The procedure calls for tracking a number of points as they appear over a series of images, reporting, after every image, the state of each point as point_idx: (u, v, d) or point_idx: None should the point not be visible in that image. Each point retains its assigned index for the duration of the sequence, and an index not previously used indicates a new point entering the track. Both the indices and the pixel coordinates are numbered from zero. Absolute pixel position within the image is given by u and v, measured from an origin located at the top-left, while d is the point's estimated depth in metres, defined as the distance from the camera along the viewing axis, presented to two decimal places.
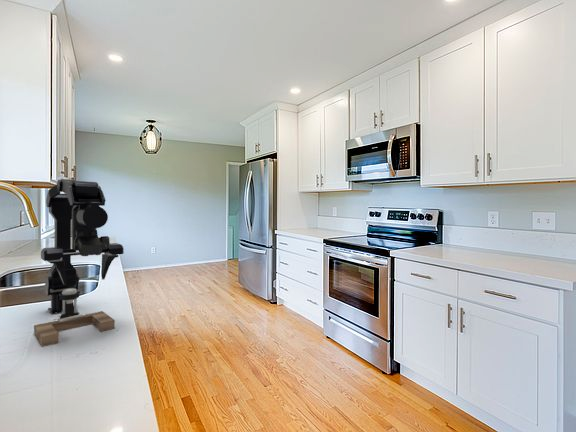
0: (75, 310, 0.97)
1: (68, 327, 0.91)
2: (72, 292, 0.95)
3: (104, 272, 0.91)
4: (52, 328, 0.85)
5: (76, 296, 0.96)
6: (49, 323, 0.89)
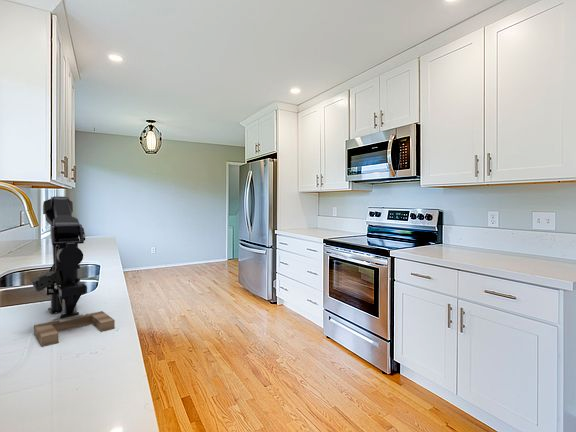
0: (75, 310, 0.97)
1: (68, 327, 0.91)
2: None
3: (65, 308, 0.94)
4: (52, 328, 0.85)
5: None
6: (49, 323, 0.89)
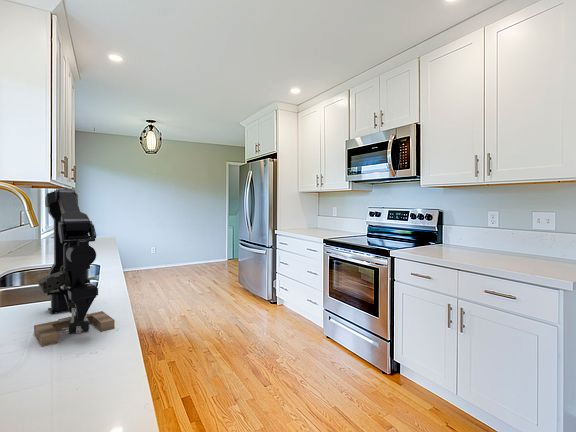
0: (85, 318, 0.89)
1: None
2: None
3: (77, 313, 0.85)
4: (52, 328, 0.85)
5: None
6: (49, 323, 0.89)
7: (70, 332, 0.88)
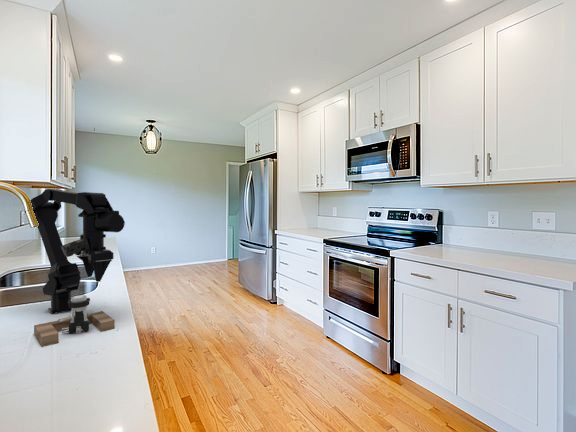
0: (85, 318, 0.89)
1: None
2: (82, 299, 0.88)
3: (95, 275, 0.98)
4: (52, 328, 0.85)
5: (86, 303, 0.89)
6: (49, 323, 0.89)
7: (70, 332, 0.88)
